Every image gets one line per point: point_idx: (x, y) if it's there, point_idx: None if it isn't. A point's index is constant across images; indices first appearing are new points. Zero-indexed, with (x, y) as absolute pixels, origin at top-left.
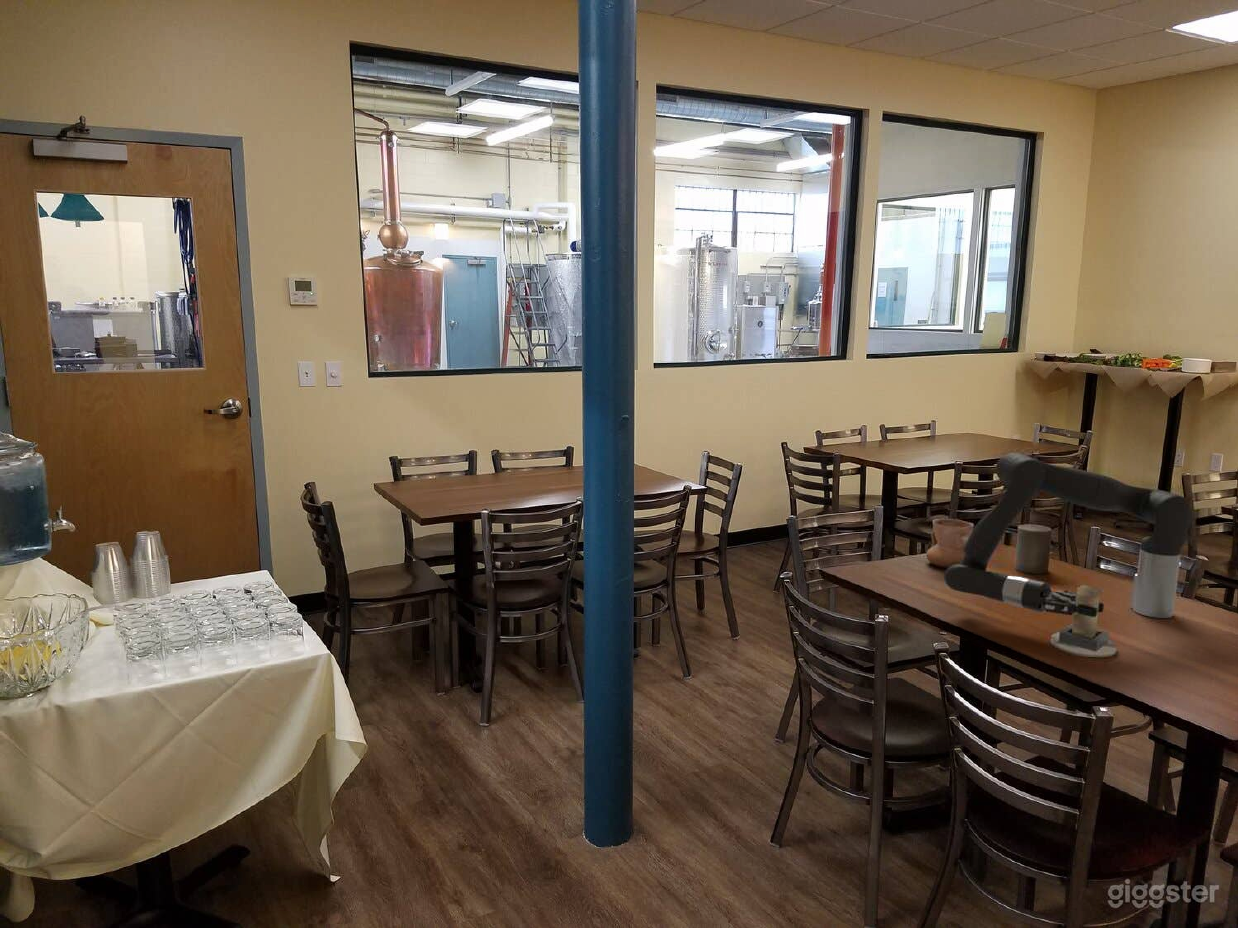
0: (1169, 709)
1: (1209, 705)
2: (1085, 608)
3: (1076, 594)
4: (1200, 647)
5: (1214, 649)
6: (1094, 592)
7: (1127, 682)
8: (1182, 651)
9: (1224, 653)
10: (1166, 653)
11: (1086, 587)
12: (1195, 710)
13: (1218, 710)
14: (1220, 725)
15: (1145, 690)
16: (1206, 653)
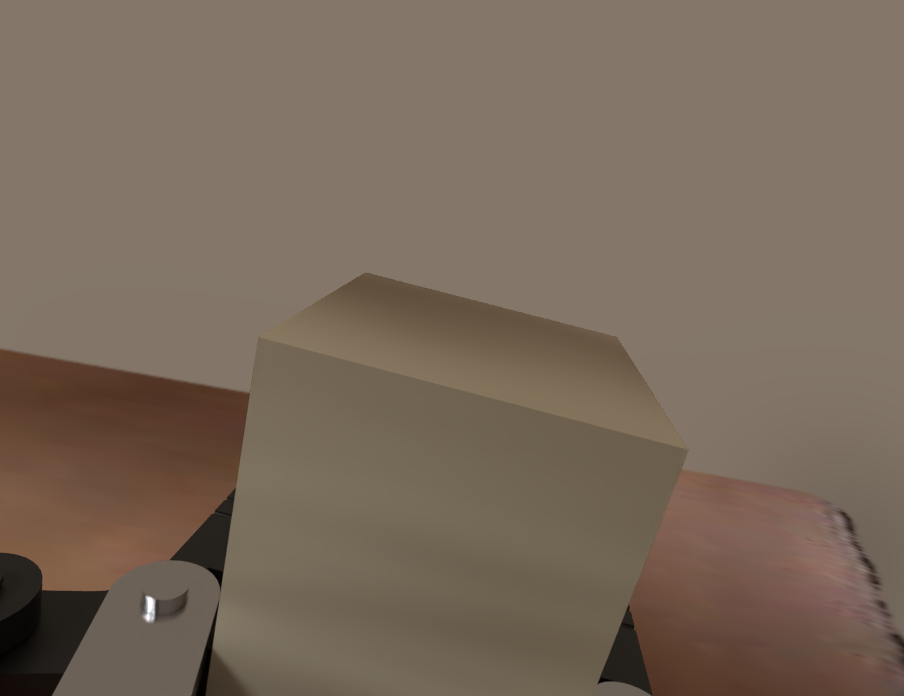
0: (839, 572)
1: (674, 489)
2: (627, 631)
3: (629, 591)
4: (52, 403)
5: (70, 382)
6: (616, 343)
7: (766, 675)
8: (137, 453)
9: (115, 374)
10: (196, 501)
11: (435, 344)
12: (754, 520)
13: (686, 480)
14: (782, 495)
15: (768, 618)
16: (136, 406)
